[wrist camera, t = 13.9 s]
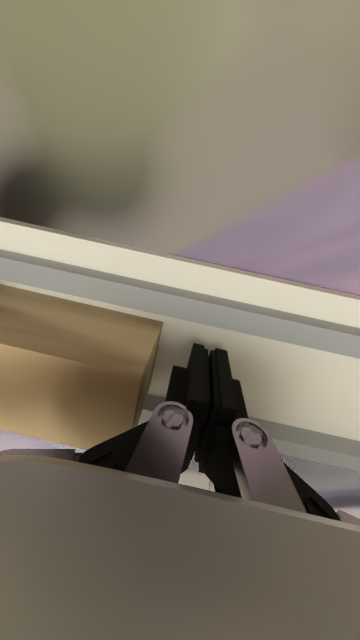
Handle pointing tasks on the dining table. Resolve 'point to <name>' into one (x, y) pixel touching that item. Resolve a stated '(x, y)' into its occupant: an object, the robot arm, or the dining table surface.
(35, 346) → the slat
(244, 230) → the dining table surface
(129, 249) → the board
